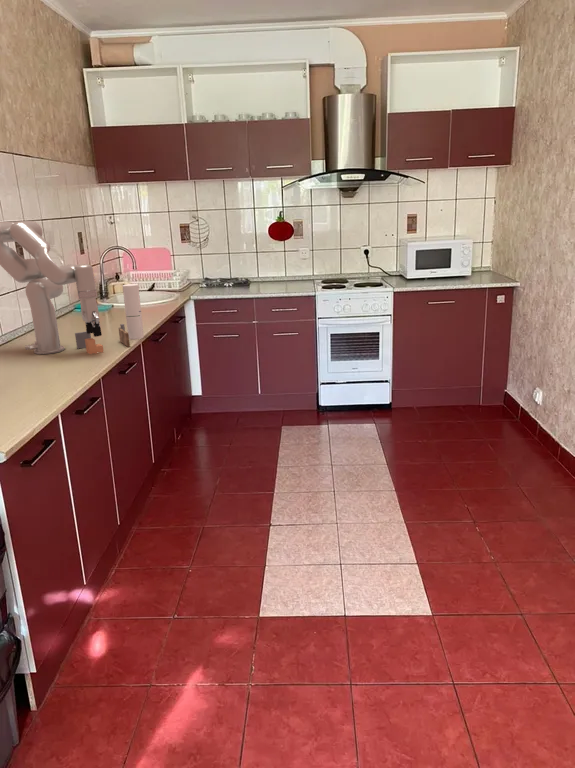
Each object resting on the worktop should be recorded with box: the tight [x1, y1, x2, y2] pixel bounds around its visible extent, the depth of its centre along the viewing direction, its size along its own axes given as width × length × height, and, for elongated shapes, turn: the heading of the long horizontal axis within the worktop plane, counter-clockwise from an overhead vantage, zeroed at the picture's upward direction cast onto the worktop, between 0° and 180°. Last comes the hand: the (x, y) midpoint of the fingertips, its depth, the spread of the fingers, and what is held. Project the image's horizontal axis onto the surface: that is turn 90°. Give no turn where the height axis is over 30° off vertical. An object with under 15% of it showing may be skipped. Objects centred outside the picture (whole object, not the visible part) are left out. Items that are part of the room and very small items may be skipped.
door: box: [118, 327, 131, 348], centre depth 266 cm, size 14×1×6 cm, turn 29°
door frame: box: [74, 323, 126, 350], centre depth 266 cm, size 22×2×8 cm, turn 124°
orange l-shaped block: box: [85, 337, 104, 355], centre depth 254 cm, size 6×4×6 cm
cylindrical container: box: [121, 283, 145, 340], centre depth 276 cm, size 7×7×25 cm
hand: (94, 334), depth 252 cm, fingers open, 9 cm apart
